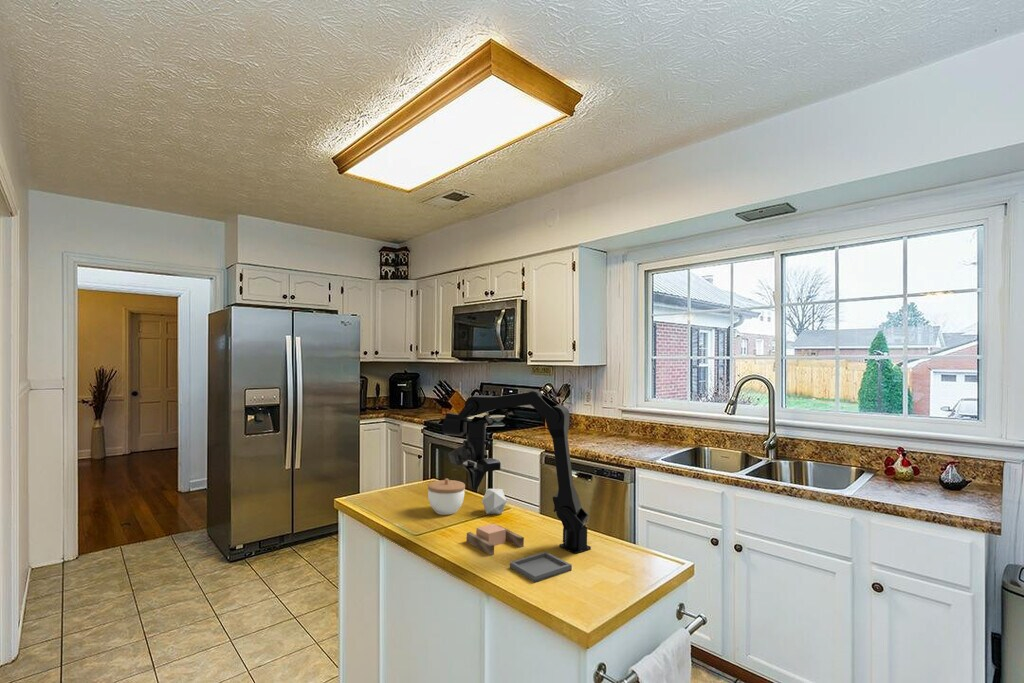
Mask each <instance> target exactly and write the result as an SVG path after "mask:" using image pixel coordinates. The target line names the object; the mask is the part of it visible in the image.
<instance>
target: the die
mask: <svg viewBox="0 0 1024 683" xmlns="http://www.w3.org/2000/svg"><path fill="white" fill-rule="evenodd" d="M481 502H482V505H483V508H484V511H485V513H486V515H502V514H503V512H504V509H505V506H506V504H507V499H506V496H505V493H504V490H503V489H502V488H487V489H486V491H485V494H484V495H483V498H482V501H481Z"/></svg>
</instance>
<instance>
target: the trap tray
mask: <svg viewBox="0 0 1024 683" xmlns="http://www.w3.org/2000/svg"><path fill="white" fill-rule="evenodd" d="M509 568H510V569H511V570H512V571H514V572H517V574H520V575H522V576H523V577H525V578H527V579H528V580H530V581H532V582H533V583H538V582H541V581H544V580H547V579H549V578H552V577H555V576H556V577H557V576H559V575H561V574H564V573H565V574H566V573H569V572H570V571H572V568H573V567H572V564H571V563H569V562H567V561H565V560H563V559H561V558H559V557H558V556H555V555H553V554H552V553H549V552H547V551H543V552H540V553H537V554H532V555H530V556H527V557H526V556H525V557H523V558H519V559H516V560H513V561H510V562H509Z"/></svg>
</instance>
